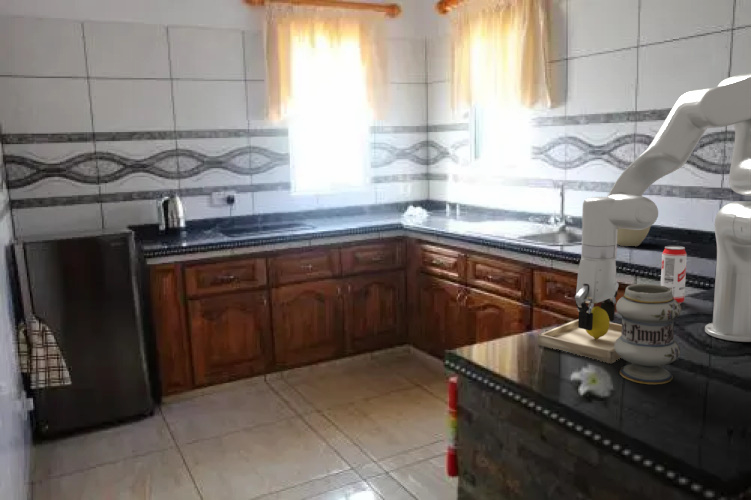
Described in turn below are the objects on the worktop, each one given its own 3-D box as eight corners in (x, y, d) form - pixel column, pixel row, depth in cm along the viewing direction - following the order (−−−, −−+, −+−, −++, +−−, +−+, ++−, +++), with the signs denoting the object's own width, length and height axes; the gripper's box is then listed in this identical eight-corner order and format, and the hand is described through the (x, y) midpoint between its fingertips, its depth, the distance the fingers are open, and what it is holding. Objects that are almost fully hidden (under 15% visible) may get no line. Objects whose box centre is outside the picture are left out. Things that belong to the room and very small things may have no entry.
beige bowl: (619, 240, 282) (620, 214, 280) (658, 244, 268) (659, 217, 266) (597, 245, 271) (598, 218, 269) (637, 250, 257) (638, 221, 255)
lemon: (603, 335, 147) (604, 302, 146) (612, 342, 142) (614, 308, 140) (580, 336, 147) (581, 303, 145) (589, 343, 141) (589, 309, 140)
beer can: (656, 303, 177) (659, 247, 174) (664, 298, 181) (666, 244, 179) (679, 306, 173) (683, 250, 170) (687, 301, 177) (690, 246, 174)
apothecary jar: (614, 361, 132) (617, 279, 129) (676, 368, 128) (681, 283, 125) (612, 382, 121) (615, 293, 118) (680, 390, 117) (686, 297, 114)
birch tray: (583, 326, 158) (583, 316, 157) (654, 341, 144) (654, 331, 144) (538, 344, 145) (538, 334, 144) (610, 363, 131) (611, 352, 131)
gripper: (602, 245, 149) (600, 313, 152) (563, 255, 138) (561, 329, 141) (633, 248, 143) (630, 319, 146) (594, 259, 132) (591, 336, 135)
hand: (596, 324), depth 144 cm, fingers open, 9 cm apart
